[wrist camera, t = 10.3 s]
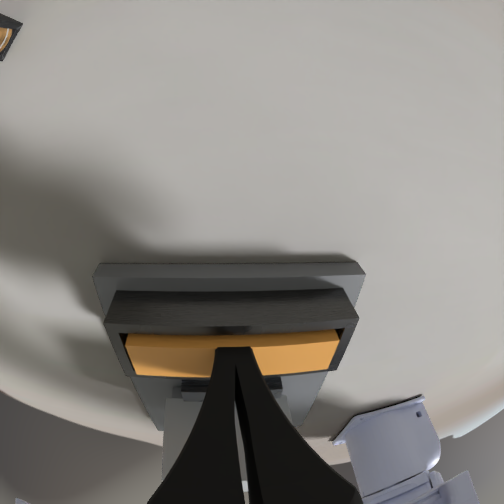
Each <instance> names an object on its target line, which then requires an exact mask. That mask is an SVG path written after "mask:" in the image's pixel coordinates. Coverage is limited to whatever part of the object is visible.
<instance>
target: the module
mask: <svg viewBox="0 0 504 504" xmlns="http://www.w3.org/2000/svg"><path fill="white" fill-rule="evenodd" d="M276 401H277V403H278V404H279V406H280V407H281V409H282V411H283V412H284V414H285V415H286V417H287V418H288V419H289V421H290V422H291V424H292V419H291V415H290V410H289V405H288V401H287V396H286V395H282V396H281V398H277V399H276ZM202 403H203V402H188V401H183V397H182V393H181V387H173V391H172V398H166V406H165V420H164V437H163V460H162V480H164V479H165V477H166V476H167V474H168V472H169V471H170V469H171V468H172V466H173V464H174V463H175V461H176V460H177V458H178V456H179V454H180V452H181V450H182V449H183V447H184V445H185V443H186V441H187V439H188V437H189V435H190V433H191V430H192V428H193V426H194V424H195V421H196V419H197V416H198V414H199V411H200V409H201V406H202ZM292 425H293V424H292ZM235 428H236V437H237V447H238V455H239V463H240V471H241V479H242V486H243V492H246V491H248V484H247V473H246V463H245V453H244V447H243V441H242V436H241V431H240V426H239V420H238V415H237V409H236V404H235Z"/></svg>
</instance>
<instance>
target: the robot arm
mask: <svg viewBox="0 0 504 504" xmlns="http://www.w3.org/2000/svg"><path fill="white" fill-rule="evenodd" d="M424 400H425V397H424V396H421V397H419V398H416V399H413V400H410V401H407V402H404V403H401V404H397V405H394V406H391V407H387V408H384V409H380V410H377V411H373V412H369V413H365V414H361V415H357V416H355V417H353V418H352V420H351V421H350V422H349V423H348V425H347V426H346V427H345V428H344V429H343V431H342V432H341V433H340V434H339V435H338V436H337V438H336V439H335V440H334V441H333V442H332V443H333V445H338V444H343V443H346V445H347V449H348V452H349V456H350V459H351V462H352V466H353V469H354V473H355V476H356V480H357V483H358V486H359V490H360V494H361V496H360V494H359V492H358V491H357V489H356V487H355V486H353V485H352V484H351V483H350V482H348V481H347V480H346V479H344V478H343V477H342V476H341V475H339V474H338V473H337V472H336V471H335V470H334V469H332V468H331V467H330V466H329V465H328V464H327V463H326V462H325V461H324V460H323V459H322V458H321V457H320V456H319V455H318V454H317V453H316V452H315V451H314V450H313V449H312V448H311V447H310V446H309V445H308V443H307V442H306V441H305V440H304V439H303V438H302V436H301V435H300V434H299V433H298V431H297V430H296V429H295V428H294V426H293V425H292V424H291V422H290V421H289V419H288V418H287V417H286V415H285V414H284V412H283V411H282V409H281V407H280V406H279V404H278V403H277V401H276V399H275V398H274V396H273V394H272V392H271V391H270V389H269V387H268V385H267V383H266V381H265V379H264V377H263V375H262V373H261V371H260V368H259V366H258V364H257V361H256V358H255V356H254V353H253V349H252V348H251V347H250V346H244V347H217V349H215V356H214V363H213V369H212V373H211V377H210V381H209V384H208V388H207V391H206V395H205V398H204V400H203V403H202V406H201V409H200V411H199V414H198V416H197V419H196V421H195V424H194V426H193V428H192V430H191V433H190V435H189V437H188V439H187V441H186V443H185V445H184V447H183V449H182V450H181V452H180V454H179V456H178V458H177V460H176V461H175V463H174V464H173V466H172V468H171V469H170V471H169V472H168V474H167V476H166V477H165V479H164V480H163V482H162V483H161V485H160V486H159V487H158V489H157V490H156V491H155V493H154V494H153V495H152V497H151V498H150V499H149V501H148V502H147V504H245V500H244V493H243V486H242V479H241V471H240V463H239V455H238V447H237V437H236V428H235V404H236V409H237V415H238V420H239V426H240V431H241V436H242V441H243V447H244V453H245V463H246V473H247V484H248V493H249V504H480V502H479V499H478V497H477V494H476V491H475V488H474V485H473V483H472V480H471V477H470V475H469V472H468V470H466V471H464V472H462V473H460V474H459V475H457V476H455V477H454V478H452V479H450V480H448V481H447V482H444V481H443V479H442V476H441V474H440V472H435V471H432V472H431V473H429V472H428V471H427V470H429V469H430V468H432V467H433V466H434V465H435V464H436V463H437V462H438V460H439V458H440V454H441V446H440V441H439V438H438V436H437V433H436V431H435V429H434V427H433V424H432V422H431V420H430V418H429V416H428V414H427V411H426V409H425V407H424V405H423V403H422V402H423V401H424ZM429 474H430V475H429ZM370 495H371V496H370ZM367 496H368V497H367ZM361 497H362V498H363V499H362V498H361ZM364 497H366V498H364ZM15 504H30V503H28V502H26V501H23V500H21V499H18V498H16V502H15Z"/></svg>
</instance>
